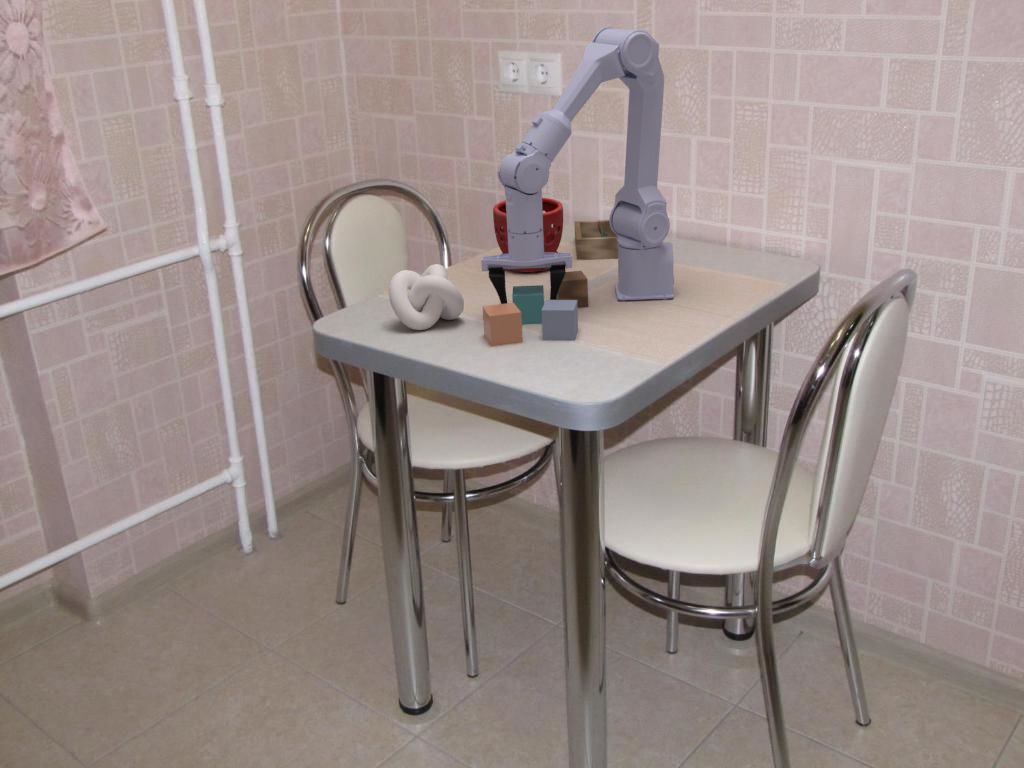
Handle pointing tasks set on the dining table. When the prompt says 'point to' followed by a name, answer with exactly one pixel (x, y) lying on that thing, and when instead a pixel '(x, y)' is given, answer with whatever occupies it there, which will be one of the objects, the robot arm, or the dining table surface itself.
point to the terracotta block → (502, 324)
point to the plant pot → (550, 234)
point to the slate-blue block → (560, 320)
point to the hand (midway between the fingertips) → (528, 310)
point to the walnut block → (574, 288)
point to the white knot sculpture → (424, 297)
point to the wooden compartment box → (595, 240)
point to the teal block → (529, 303)
